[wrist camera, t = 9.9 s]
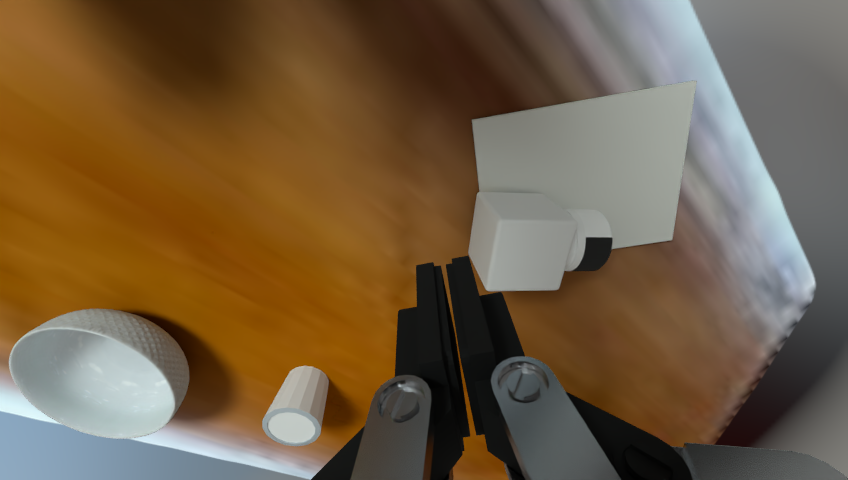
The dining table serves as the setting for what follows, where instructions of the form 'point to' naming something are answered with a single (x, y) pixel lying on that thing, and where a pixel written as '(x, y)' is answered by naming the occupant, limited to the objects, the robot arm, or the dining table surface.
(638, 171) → the mat
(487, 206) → the medicine bottle
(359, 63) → the dining table surface
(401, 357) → the robot arm
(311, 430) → the shot glass
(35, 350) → the cereal bowl
